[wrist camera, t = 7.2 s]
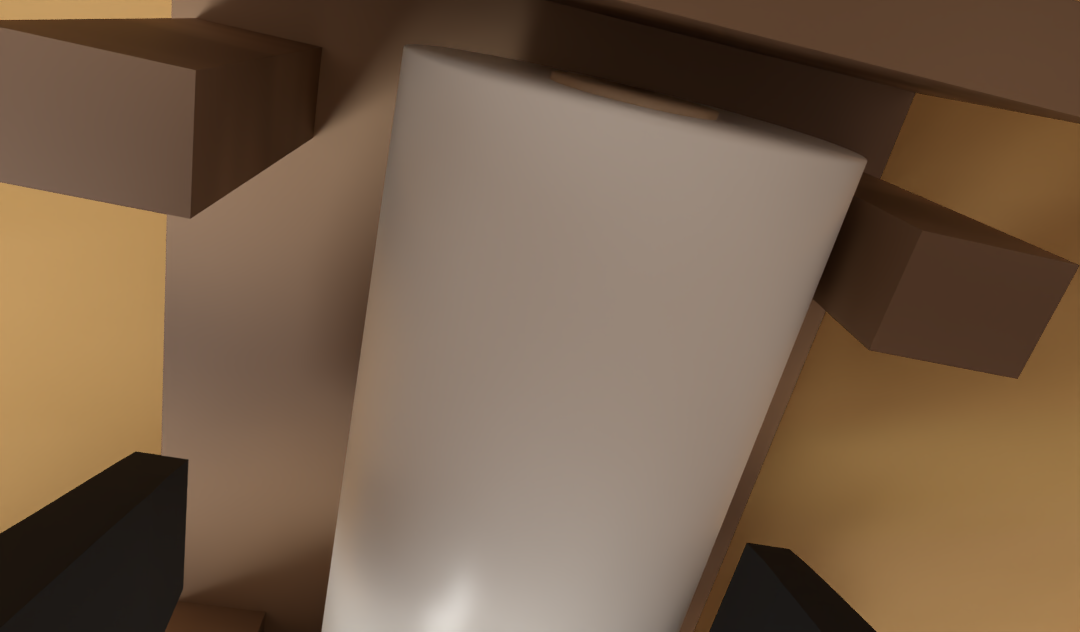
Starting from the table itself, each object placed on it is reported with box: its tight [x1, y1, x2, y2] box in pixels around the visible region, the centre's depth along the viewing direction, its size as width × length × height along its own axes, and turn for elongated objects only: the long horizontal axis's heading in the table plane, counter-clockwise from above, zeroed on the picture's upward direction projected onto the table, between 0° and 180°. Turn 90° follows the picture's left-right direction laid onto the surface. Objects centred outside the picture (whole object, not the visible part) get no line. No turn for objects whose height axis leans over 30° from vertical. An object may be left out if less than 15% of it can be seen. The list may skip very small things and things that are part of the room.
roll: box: [321, 44, 867, 632], centre depth 10 cm, size 12×5×5 cm, turn 167°
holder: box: [0, 0, 1080, 632], centre depth 10 cm, size 15×10×5 cm, turn 167°
